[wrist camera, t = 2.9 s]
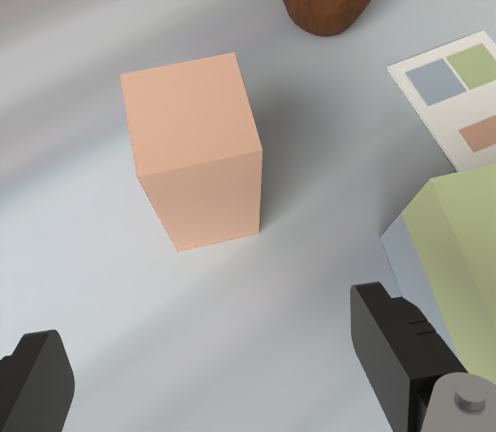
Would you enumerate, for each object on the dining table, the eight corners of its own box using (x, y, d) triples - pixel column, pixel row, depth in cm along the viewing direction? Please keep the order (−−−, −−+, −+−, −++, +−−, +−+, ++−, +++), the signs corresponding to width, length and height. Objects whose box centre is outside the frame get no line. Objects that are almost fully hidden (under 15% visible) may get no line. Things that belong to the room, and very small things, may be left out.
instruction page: (386, 68, 31) (387, 65, 31) (482, 32, 32) (484, 29, 32) (467, 186, 28) (469, 184, 27) (571, 141, 29) (574, 139, 29)
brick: (163, 178, 28) (119, 74, 19) (240, 162, 29) (234, 51, 19) (177, 251, 26) (136, 177, 17) (258, 233, 27) (262, 149, 17)
